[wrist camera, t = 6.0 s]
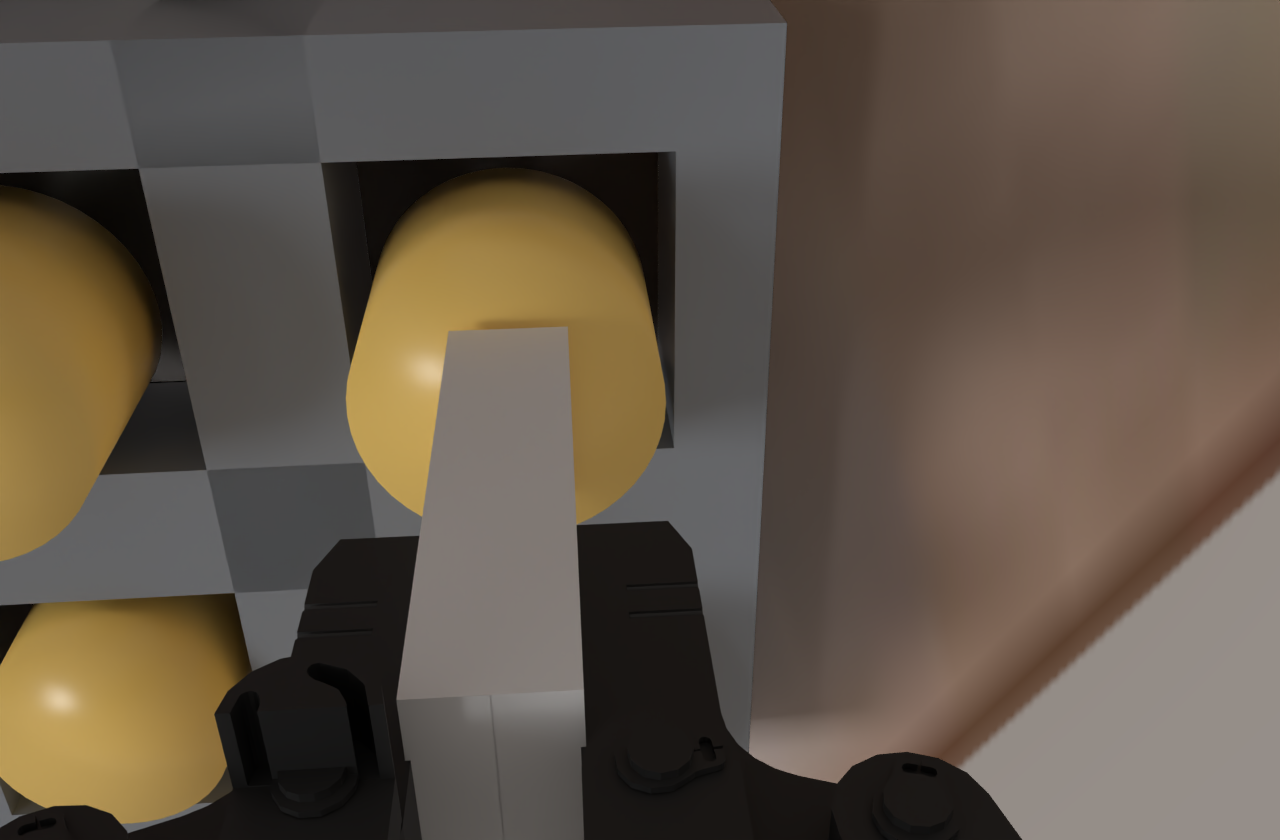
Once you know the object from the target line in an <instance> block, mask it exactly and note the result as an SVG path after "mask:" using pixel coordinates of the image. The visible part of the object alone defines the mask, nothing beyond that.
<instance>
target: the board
mask: <svg viewBox="0 0 1280 840" xmlns="http://www.w3.org/2000/svg"><path fill="white" fill-rule="evenodd" d="M786 33H787V22H786V21H785V20H784V18H783V17H782V16H781V14H780V13H779V12H778V10H777V9H776V8H775V6H774V5H773V4H772V2H771V1H770V0H0V173H17V172H48V171H79V170H110V169H139V173H140V177H141V182H142V186H143V191H144V195H145V199H146V204H147V208H148V213H149V217H150V222H151V226H152V230H153V235H154V239H155V244H156V248H157V252H158V257H159V261H160V266H161V270H162V275H163V279H164V283H165V288H166V292H167V297H168V301H169V306H170V310H171V314H172V319H173V323H174V328H175V332H176V337H177V341H178V345H179V350H180V354H181V359H182V363H183V368H184V372H185V376H186V381H187V382H168V383H149V385H148V387H147V388H146V390H145V392H144V394H143V396H142V397H141V399H140V401H139V403H138V405H137V407H136V408H135V410H134V412H133V414H132V416H131V417H130V419H129V421H128V423H127V425H126V427H125V428H124V430H123V432H122V434H121V436H120V437H119V439H118V441H117V443H116V445H115V447H114V448H113V450H112V452H111V454H110V456H109V457H108V459H107V461H106V463H105V465H104V467H103V468H102V470H101V472H100V474H99V476H98V477H97V479H96V481H95V483H94V485H93V487H92V488H91V490H90V492H89V494H88V496H87V497H86V499H85V501H84V503H83V505H82V507H81V508H80V510H79V512H78V513H77V514H76V516H75V517H74V518H73V520H72V521H71V522H70V523H69V525H67V526H66V527H65V528H64V529H63V530H62V531H61V532H60V533H59V534H58V535H57V536H55V537H54V538H53V539H51V540H50V541H48V542H47V543H45V544H44V545H42V546H40V547H38V548H36V549H34V550H32V551H30V552H28V553H26V554H23V555H20V556H17V557H15V558H12V559H9V560H4V561H0V665H1V663H2V661H3V659H4V657H5V656H6V654H7V652H8V650H9V648H10V646H11V645H12V643H13V641H14V639H15V637H16V635H17V634H18V632H19V630H20V628H21V626H22V624H23V622H24V621H25V619H26V617H27V615H28V613H29V611H30V610H31V608H32V606H31V604H35V603H54V602H72V601H91V600H110V599H129V598H148V597H167V596H186V595H205V594H224V593H235V598H236V602H237V607H238V611H239V615H240V620H241V624H242V629H243V633H244V637H245V642H246V646H247V651H248V655H249V660H250V664H251V668H252V671H254V670H256V669H258V668H261V667H263V666H265V665H267V664H270V663H272V662H274V661H276V660H279V659H281V658H287V657H291V654H292V650H293V646H294V642H295V639H297V630H298V626H299V623H300V619H301V615H302V611H304V603H305V599H306V595H307V591H308V588H309V584H310V580H311V576H312V572H313V570H314V568H315V567H316V566H317V565H318V564H319V563H320V562H321V561H322V559H323V558H324V557H325V556H326V555H327V554H328V553H329V552H330V550H331V549H332V548H333V547H334V546H335V545H336V544H337V542H338V541H339V540H340V539H359V538H380V537H401V536H420V529H421V522H422V516H420V515H418V514H417V513H415V512H413V511H412V510H410V509H408V508H407V507H405V506H404V505H403V504H402V503H400V502H399V501H398V500H397V499H395V498H394V497H393V496H391V495H390V494H389V493H388V492H387V491H386V489H385V488H384V487H383V486H382V485H381V484H380V483H379V482H378V481H377V480H376V479H375V477H374V476H373V475H372V473H371V472H370V471H369V469H368V468H367V466H366V465H365V463H364V461H363V459H362V458H361V456H360V454H359V452H358V450H357V448H356V445H355V443H354V440H353V437H352V435H351V431H350V427H349V422H348V418H347V407H346V391H347V380H348V375H349V371H350V367H351V363H352V359H353V355H354V352H355V348H356V344H357V340H358V337H359V333H360V329H361V325H362V322H363V318H364V314H365V311H366V307H367V303H368V299H369V296H370V292H371V288H372V277H371V269H370V262H369V254H368V247H367V239H366V231H365V224H364V216H363V208H362V201H361V193H360V185H359V178H358V170H357V163H356V162H359V161H391V160H422V159H453V158H484V157H515V156H546V155H578V154H609V153H640V152H658V352H659V357H660V362H661V367H662V373H663V378H664V383H665V395H666V409H665V421H664V425H663V429H662V434H661V438H660V440H659V443H658V446H657V448H656V451H655V453H654V455H653V457H652V459H651V460H650V462H649V464H648V466H647V468H646V469H645V471H644V472H643V473H642V475H641V476H640V477H639V479H638V480H637V481H636V483H635V484H634V485H633V486H632V487H631V488H630V489H629V490H628V491H627V492H626V493H625V494H624V495H623V496H622V497H621V498H619V499H618V500H617V501H616V502H614V503H613V504H612V505H611V506H609V507H608V508H607V509H605V510H603V511H602V512H600V513H598V514H597V515H595V516H593V517H592V518H590V519H588V520H586V521H583V522H581V523H579V524H577V525H588V524H609V523H630V522H651V521H669V523H670V524H671V525H672V526H673V527H674V528H675V529H676V531H677V532H678V533H679V534H680V535H681V536H682V538H683V539H684V540H685V541H686V542H687V543H688V544H689V546H690V547H691V548H692V551H693V557H694V563H695V568H696V574H697V579H698V588H699V591H700V596H701V602H702V608H703V615H704V619H705V625H706V630H707V636H708V642H709V647H710V653H711V658H712V664H713V670H714V675H715V681H716V687H717V692H718V698H719V704H720V709H721V714H722V716H723V719H724V722H725V725H726V728H727V730H728V731H729V732H730V734H731V735H732V737H733V738H734V739H735V741H736V742H737V743H738V745H740V746H741V747H742V748H743V749H744V750H746V751H747V752H748V753H749V738H750V718H751V699H752V680H753V661H754V642H755V623H756V604H757V585H758V566H759V547H760V528H761V509H762V490H763V471H764V452H765V433H766V414H767V395H768V376H769V357H770V338H771V319H772V300H773V281H774V262H775V243H776V224H777V204H778V185H779V166H780V147H781V128H782V109H783V90H784V71H785V52H786ZM232 789H233V787H232V783H231V779H230V775H229V771H228V767H226V769H225V771H224V774H223V776H222V778H221V779H220V781H219V782H218V784H217V785H216V787H215V788H214V789H213V790H212V791H211V792H210V793H209V794H208V795H207V796H206V797H204V798H203V799H202V800H201V801H199V802H198V803H196V804H195V805H193V806H191V807H190V808H188V809H186V810H184V811H182V812H179V813H177V814H175V815H172V816H168V817H165V818H162V819H158V820H153V821H148V822H140V823H127V824H121V825H122V826H123V827H124V828H125V829H126V830H127V832H128V833H130V832H133V831H136V830H139V829H143V828H146V827H149V826H152V825H155V824H159V823H162V822H165V821H168V820H171V819H175V818H178V817H181V816H184V815H186V814H189V813H191V812H194V811H196V810H199V809H201V808H204V807H206V806H208V805H210V804H211V803H213V802H215V801H216V800H218V799H220V798H221V797H223V796H225V795H226V794H228V793H230V792H231V791H232ZM43 809H46V808H45V807H43V806H40V805H38V804H37V803H35V802H33V801H31V800H29V799H28V798H26V797H24V796H23V795H22V794H20V793H19V792H17V791H16V790H14V789H13V788H12V787H11V786H10V785H8V784H7V783H6V782H5V781H4V780H3V779H2V778H1V777H0V827H2V826H4V825H6V824H7V823H9V822H11V821H13V820H14V819H16V818H18V817H19V816H23V815H26V814H29V813H33V812H36V811H39V810H43Z"/></svg>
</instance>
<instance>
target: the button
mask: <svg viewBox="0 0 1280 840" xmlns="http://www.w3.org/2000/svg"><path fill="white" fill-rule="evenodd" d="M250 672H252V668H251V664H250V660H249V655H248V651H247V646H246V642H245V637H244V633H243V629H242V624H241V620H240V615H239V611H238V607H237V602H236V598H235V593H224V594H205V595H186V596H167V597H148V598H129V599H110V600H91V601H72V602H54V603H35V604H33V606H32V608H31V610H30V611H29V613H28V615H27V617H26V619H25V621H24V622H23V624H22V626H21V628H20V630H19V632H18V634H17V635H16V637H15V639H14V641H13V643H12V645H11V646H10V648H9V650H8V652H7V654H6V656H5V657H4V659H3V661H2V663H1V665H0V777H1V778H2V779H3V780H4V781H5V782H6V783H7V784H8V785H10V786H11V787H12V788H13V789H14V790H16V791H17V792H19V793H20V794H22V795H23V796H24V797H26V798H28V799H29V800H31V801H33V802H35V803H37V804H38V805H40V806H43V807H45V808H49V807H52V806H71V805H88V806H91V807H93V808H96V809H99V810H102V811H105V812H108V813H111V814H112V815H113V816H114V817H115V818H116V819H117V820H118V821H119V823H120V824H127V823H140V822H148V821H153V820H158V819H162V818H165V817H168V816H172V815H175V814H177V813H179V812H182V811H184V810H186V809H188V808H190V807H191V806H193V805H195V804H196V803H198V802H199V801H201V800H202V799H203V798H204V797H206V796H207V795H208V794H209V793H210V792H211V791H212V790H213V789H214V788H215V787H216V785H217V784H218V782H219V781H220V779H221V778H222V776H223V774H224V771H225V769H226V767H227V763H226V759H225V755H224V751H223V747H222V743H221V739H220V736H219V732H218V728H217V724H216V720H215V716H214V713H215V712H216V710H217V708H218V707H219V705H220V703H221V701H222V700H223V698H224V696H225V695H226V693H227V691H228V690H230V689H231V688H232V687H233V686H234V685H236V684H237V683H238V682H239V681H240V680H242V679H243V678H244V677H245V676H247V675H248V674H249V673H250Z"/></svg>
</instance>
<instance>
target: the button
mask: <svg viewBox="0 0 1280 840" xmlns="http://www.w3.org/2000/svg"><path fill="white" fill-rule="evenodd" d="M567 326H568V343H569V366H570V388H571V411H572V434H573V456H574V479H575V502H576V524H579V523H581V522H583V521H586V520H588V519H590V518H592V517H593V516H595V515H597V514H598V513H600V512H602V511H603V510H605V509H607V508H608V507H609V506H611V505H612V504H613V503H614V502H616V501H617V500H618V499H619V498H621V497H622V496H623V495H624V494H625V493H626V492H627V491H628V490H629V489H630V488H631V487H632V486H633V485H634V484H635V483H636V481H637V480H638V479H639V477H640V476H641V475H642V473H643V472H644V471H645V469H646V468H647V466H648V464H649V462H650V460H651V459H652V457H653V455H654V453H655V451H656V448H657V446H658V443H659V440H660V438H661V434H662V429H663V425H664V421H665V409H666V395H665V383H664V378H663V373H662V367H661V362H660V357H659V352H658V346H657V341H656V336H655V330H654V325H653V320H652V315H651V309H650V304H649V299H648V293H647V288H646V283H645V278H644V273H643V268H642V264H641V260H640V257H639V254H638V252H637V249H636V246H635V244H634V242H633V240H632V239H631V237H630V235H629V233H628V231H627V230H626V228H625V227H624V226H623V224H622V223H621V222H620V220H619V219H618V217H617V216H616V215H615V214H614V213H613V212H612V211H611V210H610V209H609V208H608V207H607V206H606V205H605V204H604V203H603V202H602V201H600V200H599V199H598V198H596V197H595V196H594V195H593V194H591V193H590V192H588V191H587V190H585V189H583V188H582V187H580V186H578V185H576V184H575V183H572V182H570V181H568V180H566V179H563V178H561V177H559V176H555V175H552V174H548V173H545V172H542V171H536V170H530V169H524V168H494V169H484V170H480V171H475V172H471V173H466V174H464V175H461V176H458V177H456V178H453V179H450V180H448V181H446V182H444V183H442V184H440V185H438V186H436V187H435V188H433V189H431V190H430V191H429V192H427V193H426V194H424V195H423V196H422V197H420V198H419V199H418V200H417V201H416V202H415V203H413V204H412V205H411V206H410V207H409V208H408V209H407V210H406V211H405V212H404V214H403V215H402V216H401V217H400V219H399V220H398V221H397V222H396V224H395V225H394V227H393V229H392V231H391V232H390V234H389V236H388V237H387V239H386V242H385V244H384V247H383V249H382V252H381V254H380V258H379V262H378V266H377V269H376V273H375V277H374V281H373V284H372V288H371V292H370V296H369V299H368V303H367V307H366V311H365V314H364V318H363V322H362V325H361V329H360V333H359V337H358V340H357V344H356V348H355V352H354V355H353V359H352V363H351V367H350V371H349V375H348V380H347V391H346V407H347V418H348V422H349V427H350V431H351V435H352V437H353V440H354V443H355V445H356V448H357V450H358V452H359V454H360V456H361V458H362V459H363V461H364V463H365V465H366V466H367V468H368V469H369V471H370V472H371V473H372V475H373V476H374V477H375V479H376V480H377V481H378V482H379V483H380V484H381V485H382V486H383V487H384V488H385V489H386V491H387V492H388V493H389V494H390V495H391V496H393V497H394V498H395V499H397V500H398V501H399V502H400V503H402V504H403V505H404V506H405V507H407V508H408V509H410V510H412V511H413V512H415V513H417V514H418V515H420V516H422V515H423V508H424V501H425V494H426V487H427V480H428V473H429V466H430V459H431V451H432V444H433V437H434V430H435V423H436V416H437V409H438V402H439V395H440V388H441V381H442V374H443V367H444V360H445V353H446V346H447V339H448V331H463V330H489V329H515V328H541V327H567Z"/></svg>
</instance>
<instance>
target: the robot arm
mask: <svg viewBox="0 0 1280 840" xmlns="http://www.w3.org/2000/svg"><path fill="white" fill-rule="evenodd" d="M214 716H215V720H216V724H217V728H218V732H219V736H220V739H221V743H222V747H223V751H224V755H225V759H226V763H227V767H228V771H229V775H230V779H231V783H232V787H233V789H232V791H231V792H230V793H228V794H226V795H225V796H223V797H221V798H220V799H218V800H216V801H215V802H213V803H211V804H210V805H208V806H206V807H204V808H201V809H199V810H196V811H194V812H191V813H189V814H186V815H184V816H181V817H178V818H175V819H171V820H168V821H165V822H162V823H159V824H155V825H152V826H149V827H146V828H143V829H139V830H136V831H133V832H130V833H128V832H127V830H126V829H125V828H124V827H123V826H122V825H121V824H120V823H119V821H118V820H117V819H116V818H115V817H114V816H113V815H112V814H111V813H108V812H105V811H102V810H99V809H96V808H93V807H91V806H88V805H71V806H52V807H49V808H46V809H43V810H39V811H36V812H33V813H29V814H26V815H23V816H19V817H18V818H16V819H14V820H13V821H11V822H9V823H7V824H6V825H4V826H2V827H0V840H1022V839H1021V838H1020V836H1019V835H1018V833H1017V832H1016V831H1015V829H1014V828H1013V827H1012V825H1011V824H1010V822H1009V821H1008V820H1007V818H1006V817H1005V816H1004V814H1003V813H1002V811H1001V810H1000V809H999V807H998V806H997V805H996V803H995V802H994V800H993V799H992V798H991V796H990V795H989V794H988V793H987V792H986V791H985V790H984V789H983V788H982V787H981V786H980V785H979V784H978V783H977V782H976V781H975V780H974V779H973V778H972V777H971V776H970V775H969V774H968V773H966V772H964V771H963V770H961V769H959V768H957V767H955V766H953V765H951V764H949V763H947V762H945V761H943V760H941V759H939V758H935V757H930V756H925V755H920V754H915V753H910V752H902V753H891V754H880V755H876V756H873V757H871V758H869V759H867V760H865V761H862V762H860V763H858V764H856V765H854V766H852V767H851V768H850V770H849V771H848V772H847V773H846V774H845V775H844V777H843V778H842V779H841V780H840V781H839V782H838V784H836V783H831V782H826V781H821V780H816V779H811V778H807V777H802V776H797V775H794V774H791V773H787V772H784V771H781V770H778V769H775V768H773V767H771V766H769V765H767V764H765V763H763V762H761V761H759V760H757V759H756V758H754V757H753V756H752V755H750V754H749V753H748V752H747V751H746V750H744V749H743V748H742V747H741V746H740V745H738V743H737V742H736V741H735V739H734V738H733V737H732V735H731V734H730V732H729V731H728V730H727V728H726V725H725V722H724V719H723V716H722V714H721V709H720V704H719V698H718V692H717V687H716V681H715V675H714V670H713V664H712V658H711V653H710V647H709V642H708V636H707V630H706V625H705V619H704V615H703V608H702V602H701V596H700V591H699V588H698V579H697V574H696V568H695V563H694V557H693V551H692V548H691V547H690V546H689V544H688V543H687V542H686V541H685V540H684V539H683V538H682V536H681V535H680V534H679V533H678V532H677V531H676V529H675V528H674V527H673V526H672V525H671V524H670V523H669V521H651V522H630V523H609V524H588V525H577V524H576V502H575V479H574V456H573V434H572V411H571V388H570V366H569V343H568V326H567V327H541V328H515V329H489V330H463V331H448V339H447V346H446V353H445V360H444V367H443V374H442V381H441V388H440V395H439V402H438V409H437V416H436V423H435V430H434V437H433V444H432V451H431V459H430V466H429V473H428V480H427V487H426V494H425V501H424V508H423V515H422V522H421V529H420V536H401V537H380V538H359V539H340V540H339V541H338V542H337V544H336V545H335V546H334V547H333V548H332V549H331V550H330V552H329V553H328V554H327V555H326V556H325V557H324V558H323V559H322V561H321V562H320V563H319V564H318V565H317V566H316V567H315V568H314V570H313V572H312V576H311V580H310V584H309V588H308V591H307V595H306V599H305V603H304V611H302V615H301V619H300V623H299V626H298V630H297V639H295V642H294V646H293V650H292V654H291V657H287V658H281V659H279V660H276V661H274V662H272V663H270V664H267V665H265V666H263V667H261V668H258V669H256V670H254V671H252V672H250V673H249V674H248V675H247V676H245V677H244V678H243V679H242V680H240V681H239V682H238V683H237V684H236V685H234V686H233V687H232V688H231V689H230V690H228V691H227V693H226V695H225V696H224V698H223V700H222V701H221V703H220V705H219V707H218V708H217V710H216V712H215V713H214Z"/></svg>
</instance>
